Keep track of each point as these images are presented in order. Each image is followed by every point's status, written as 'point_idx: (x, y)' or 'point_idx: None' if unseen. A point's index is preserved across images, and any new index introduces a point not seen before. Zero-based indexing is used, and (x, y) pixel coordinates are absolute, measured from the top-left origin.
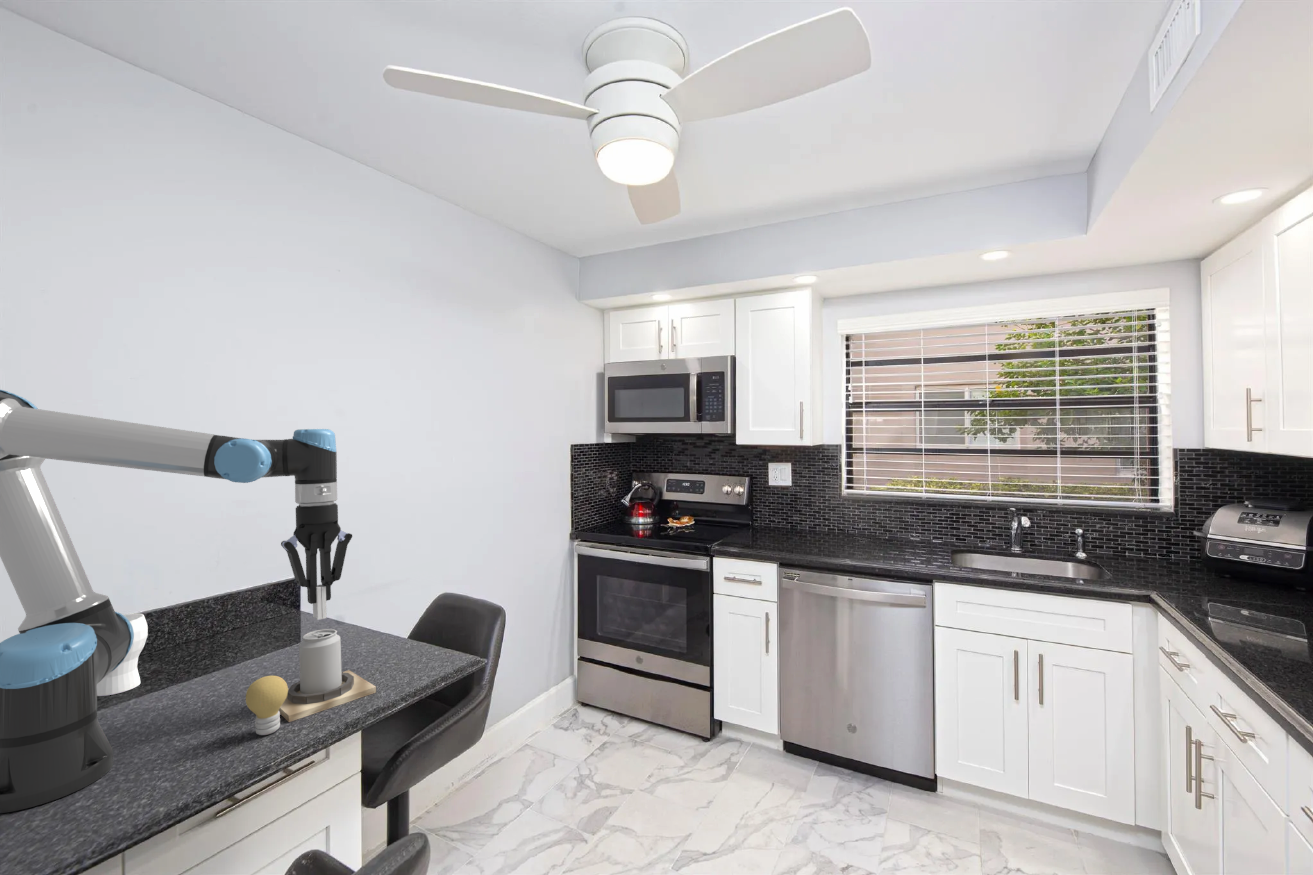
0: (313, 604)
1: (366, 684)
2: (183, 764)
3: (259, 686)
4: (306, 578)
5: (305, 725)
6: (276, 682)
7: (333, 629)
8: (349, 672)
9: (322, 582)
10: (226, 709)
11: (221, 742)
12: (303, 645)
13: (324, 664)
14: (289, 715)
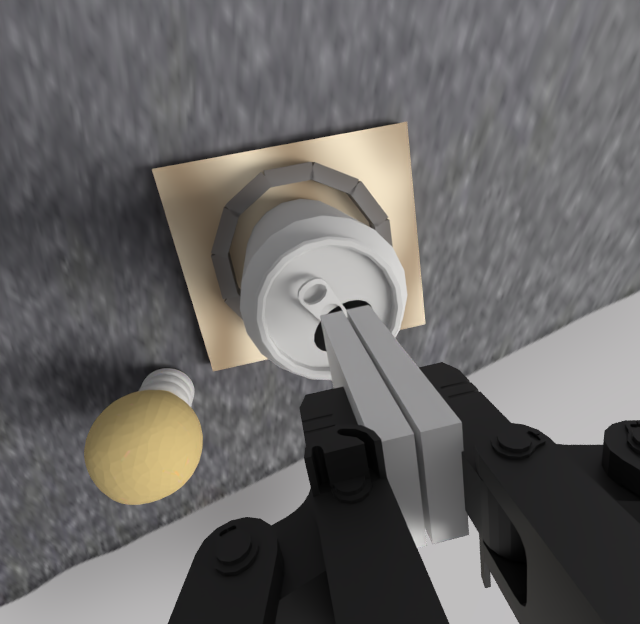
0: (336, 366)
1: (411, 291)
2: (9, 437)
3: (117, 501)
4: (327, 572)
5: (247, 401)
6: (165, 493)
7: (397, 282)
8: (401, 148)
9: (478, 490)
10: (41, 149)
11: (70, 378)
12: (256, 338)
13: (317, 343)
14: (214, 370)
